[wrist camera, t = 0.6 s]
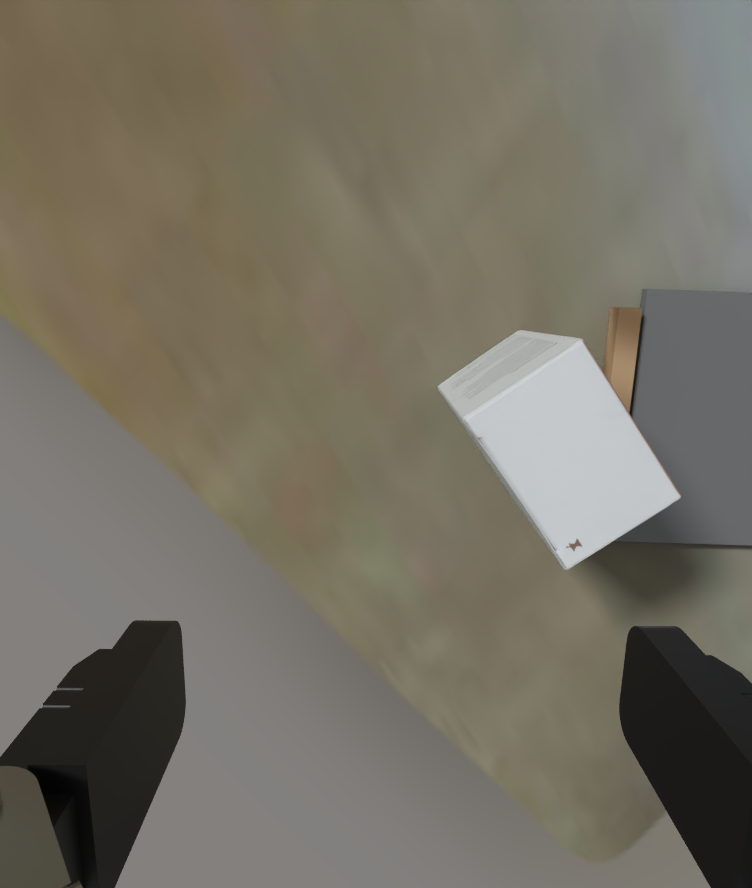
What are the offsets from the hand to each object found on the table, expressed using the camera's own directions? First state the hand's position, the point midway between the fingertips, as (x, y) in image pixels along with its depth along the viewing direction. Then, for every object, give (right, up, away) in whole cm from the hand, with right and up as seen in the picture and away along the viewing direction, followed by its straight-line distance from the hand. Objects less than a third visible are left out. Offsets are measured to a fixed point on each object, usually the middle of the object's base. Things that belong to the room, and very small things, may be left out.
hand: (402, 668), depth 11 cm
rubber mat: (+19, +5, +24) cm, 31 cm away
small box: (+7, +6, +24) cm, 26 cm away
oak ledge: (+13, +5, +24) cm, 27 cm away
